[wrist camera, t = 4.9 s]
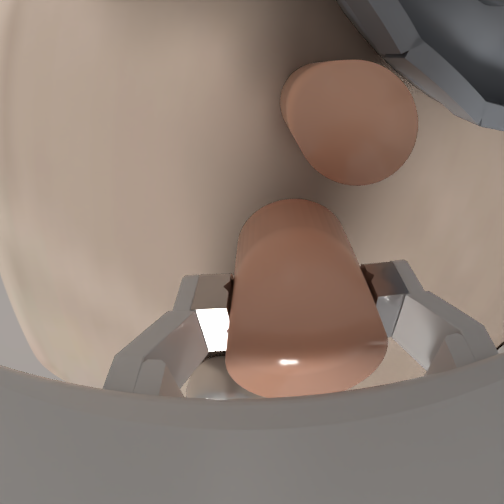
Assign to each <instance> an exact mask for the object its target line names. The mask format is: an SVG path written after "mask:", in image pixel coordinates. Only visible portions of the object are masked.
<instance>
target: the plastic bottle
mask: <svg viewBox="0 0 504 504" xmlns="http://www.w3.org/2000/svg"><path fill="white" fill-rule="evenodd" d="M186 397H187V398H216V399H246V398H266V397H262V396H259V395H256V394H254V393H252V392H249V391H248V390H246V389H244V388H242V387H241V386H240V385H238V384H237V383H236V382H235V381H234V380H233V379H232V378H231V376H230V375H229V373H228V371H227V368H226V364H225V356H217V357H212V358H209V359H207V360H205V361H203V362H202V363H200V365H199V366H198V367H197V368H196V370H195V371H194V372H193V373H192V375H191V376H190V379H189V382H188V385H187V388H186Z"/></svg>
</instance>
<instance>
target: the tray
mask: <svg viewBox="0 0 504 504" xmlns="http://www.w3.org/2000/svg"><path fill="white" fill-rule="evenodd" d="M336 1H337V3H338V4H339V6H340V7H341V9H342V10H343V12H344V13H345V15H346V16H347V17H348V18H349V20H350V21H351V22H352V23H353V25H354V26H355V27H356V29H357V30H358V31H359V33H360V34H361V35H362V36H363V37H364V38H365V39H366V40H367V42H368V43H369V44H370V45H371V46H372V47H373V48H374V50H375V51H376V52H377V53H378V54H379V55H380V56H381V57H382V58H383V59H384V60H385V61H386V62H387V63H388V64H389V65H390V66H391V67H392V68H393V69H394V70H396V71H397V72H398V73H399V74H400V75H402V76H403V77H404V78H405V79H406V80H407V81H409V82H410V83H411V84H412V85H413V86H415V87H416V88H418V89H419V90H421V91H422V92H423V93H425V94H426V95H428V96H429V97H431V98H432V99H434V100H436V101H438V102H439V103H441V104H443V105H444V106H445V107H446V108H447V109H448V110H449V111H450V112H452V113H453V114H454V115H456V116H458V117H460V118H462V119H465V120H467V121H470V122H472V123H474V124H476V125H479V126H481V127H485V128H491V129H496V130H501V131H504V0H336Z"/></svg>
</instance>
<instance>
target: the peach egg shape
mask: <svg viewBox="0 0 504 504" xmlns="http://www.w3.org/2000/svg"><path fill="white" fill-rule="evenodd" d="M387 347H388V339H387V334H386V331H385V329H384V326H383V323H382V321H381V318H380V315H379V313H378V310H377V307H376V305H375V302H374V300H373V297H372V295H371V292H370V290H369V287H368V285H367V282H366V280H365V277H364V275H363V273H362V270H361V268H360V265H359V263H358V261H357V258H356V256H355V254H354V252H353V249H352V247H351V245H350V243H349V240H348V238H347V236H346V234H345V232H344V229H343V227H342V225H341V223H340V221H339V220H338V219H337V217H336V216H335V215H334V214H333V213H332V212H331V211H330V210H328V209H327V208H326V207H324V206H322V205H320V204H318V203H316V202H313V201H309V200H304V199H285V200H280V201H276V202H273V203H270V204H268V205H266V206H264V207H262V208H261V209H259V210H258V211H256V212H255V213H254V214H253V215H252V216H251V217H250V218H249V219H248V220H247V221H246V223H245V224H244V226H243V228H242V230H241V232H240V234H239V238H238V244H237V253H236V262H235V271H234V280H233V289H232V298H231V308H230V317H229V326H228V336H227V346H226V356H225V364H226V368H227V371H228V373H229V375H230V376H231V378H232V379H233V380H234V381H235V382H236V383H237V384H238V385H240V386H241V387H242V388H244V389H246V390H248V391H249V392H252V393H254V394H256V395H259V396H262V397H266V398H276V397H292V396H305V395H315V394H325V393H333V392H341V391H345V390H347V389H349V388H351V387H353V386H355V385H357V384H358V383H360V382H361V381H363V380H364V379H366V378H367V377H368V376H369V375H371V374H372V373H373V372H374V371H375V370H376V368H377V367H378V366H379V365H380V363H381V362H382V360H383V359H384V356H385V354H386V351H387Z"/></svg>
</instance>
